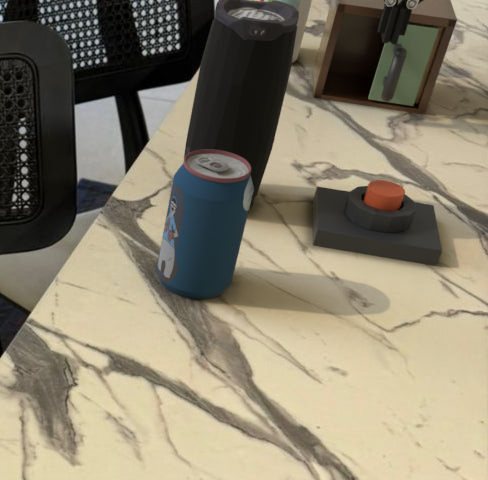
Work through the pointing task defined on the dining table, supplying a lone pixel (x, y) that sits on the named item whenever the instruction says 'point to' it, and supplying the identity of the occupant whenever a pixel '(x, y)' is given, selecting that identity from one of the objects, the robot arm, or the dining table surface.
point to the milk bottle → (302, 4)
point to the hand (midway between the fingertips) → (388, 39)
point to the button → (384, 195)
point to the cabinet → (373, 51)
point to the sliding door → (403, 66)
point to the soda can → (205, 223)
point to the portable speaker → (243, 81)
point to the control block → (375, 227)
